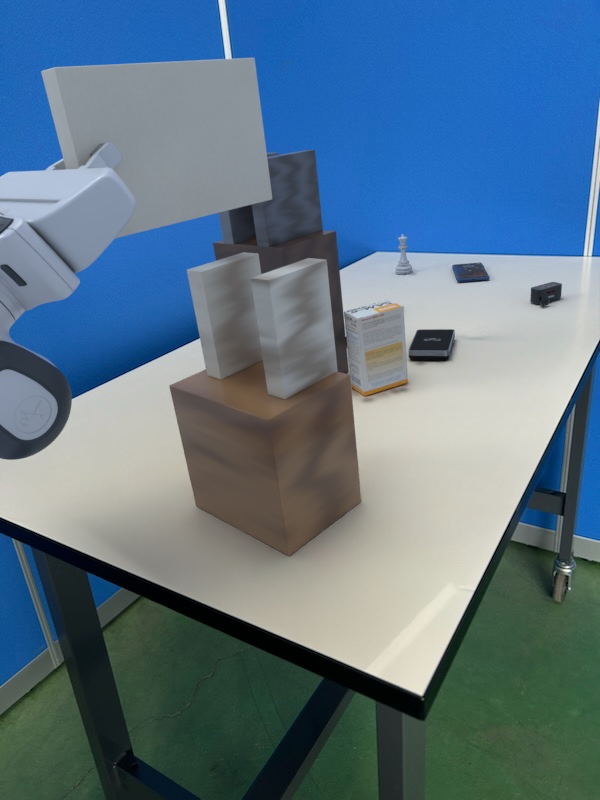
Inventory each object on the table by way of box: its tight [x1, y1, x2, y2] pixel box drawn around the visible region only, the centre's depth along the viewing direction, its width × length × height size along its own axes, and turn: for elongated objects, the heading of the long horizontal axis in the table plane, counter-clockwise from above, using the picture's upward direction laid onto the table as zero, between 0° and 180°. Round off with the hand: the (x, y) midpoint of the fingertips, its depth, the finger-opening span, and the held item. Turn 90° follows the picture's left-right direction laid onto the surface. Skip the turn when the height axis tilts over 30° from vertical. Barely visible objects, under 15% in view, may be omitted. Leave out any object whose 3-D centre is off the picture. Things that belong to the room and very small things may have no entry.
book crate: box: [168, 252, 362, 557], centre depth 68 cm, size 12×16×28 cm
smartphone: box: [451, 262, 491, 283], centre depth 155 cm, size 8×1×15 cm
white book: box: [40, 57, 272, 239], centre depth 60 cm, size 22×2×14 cm, turn 136°
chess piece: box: [395, 233, 414, 276], centre depth 162 cm, size 4×4×10 cm
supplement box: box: [343, 299, 409, 397], centre depth 98 cm, size 8×5×13 cm, turn 114°
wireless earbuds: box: [529, 281, 563, 307], centre depth 128 cm, size 5×7×3 cm, turn 115°
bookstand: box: [212, 149, 350, 374], centre depth 101 cm, size 12×16×36 cm
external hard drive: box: [408, 328, 456, 361], centre depth 111 cm, size 7×11×2 cm, turn 162°
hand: (102, 150), depth 55 cm, fingers closed on white book, 2 cm apart
